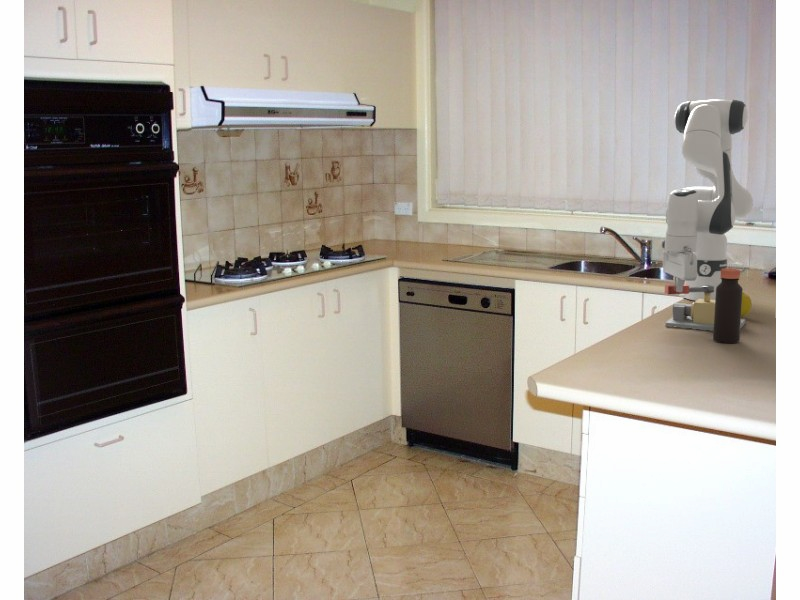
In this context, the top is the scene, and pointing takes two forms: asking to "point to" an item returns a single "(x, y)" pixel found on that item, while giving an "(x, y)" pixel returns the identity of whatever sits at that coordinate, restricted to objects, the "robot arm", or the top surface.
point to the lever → (688, 289)
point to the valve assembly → (695, 314)
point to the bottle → (728, 307)
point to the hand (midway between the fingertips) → (678, 291)
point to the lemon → (745, 305)
